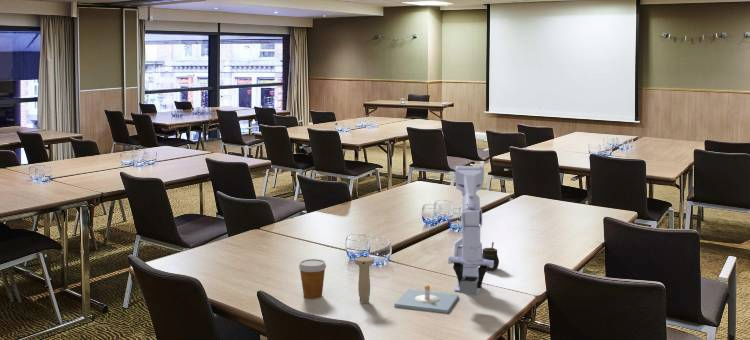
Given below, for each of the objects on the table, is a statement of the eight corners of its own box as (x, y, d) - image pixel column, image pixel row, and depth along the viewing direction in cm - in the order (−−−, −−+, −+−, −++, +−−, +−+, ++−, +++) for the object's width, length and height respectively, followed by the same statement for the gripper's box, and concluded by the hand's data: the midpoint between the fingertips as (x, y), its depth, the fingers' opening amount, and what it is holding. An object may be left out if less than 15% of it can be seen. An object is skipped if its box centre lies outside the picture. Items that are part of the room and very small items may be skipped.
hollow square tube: (463, 286, 232) (464, 275, 231) (480, 288, 230) (480, 277, 229) (459, 292, 226) (459, 281, 225) (476, 294, 224) (477, 282, 223)
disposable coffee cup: (330, 298, 239) (329, 264, 238) (303, 302, 236) (302, 267, 234) (321, 290, 248) (321, 257, 246) (295, 293, 245) (295, 260, 243)
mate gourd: (478, 270, 271) (479, 245, 269) (481, 265, 278) (482, 241, 277) (497, 272, 269) (498, 247, 267) (499, 267, 276) (500, 242, 274)
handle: (355, 299, 238) (355, 256, 236) (374, 299, 238) (374, 257, 236) (354, 304, 234) (353, 260, 231) (373, 304, 233) (373, 261, 231)
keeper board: (408, 291, 246) (408, 275, 245) (458, 297, 240) (458, 280, 239) (394, 306, 231) (394, 289, 230) (447, 313, 225) (447, 295, 224)
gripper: (446, 247, 224) (445, 287, 226) (491, 251, 220) (490, 292, 222) (451, 241, 231) (450, 281, 233) (495, 245, 226) (494, 286, 228)
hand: (470, 286), depth 228 cm, fingers closed on hollow square tube, 6 cm apart
